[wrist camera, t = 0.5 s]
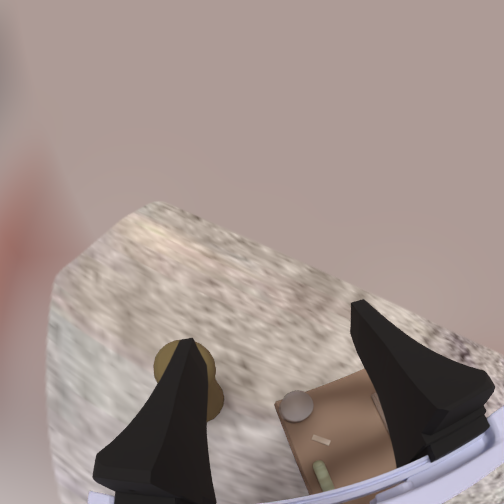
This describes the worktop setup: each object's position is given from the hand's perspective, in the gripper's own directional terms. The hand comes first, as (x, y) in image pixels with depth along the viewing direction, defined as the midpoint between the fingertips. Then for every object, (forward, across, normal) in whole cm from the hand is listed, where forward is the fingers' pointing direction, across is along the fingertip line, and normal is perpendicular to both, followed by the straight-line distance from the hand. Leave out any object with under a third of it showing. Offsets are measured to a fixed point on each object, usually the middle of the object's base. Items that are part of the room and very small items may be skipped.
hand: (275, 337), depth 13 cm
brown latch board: (0, -7, +24) cm, 25 cm away
